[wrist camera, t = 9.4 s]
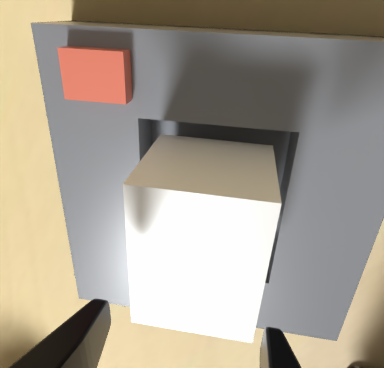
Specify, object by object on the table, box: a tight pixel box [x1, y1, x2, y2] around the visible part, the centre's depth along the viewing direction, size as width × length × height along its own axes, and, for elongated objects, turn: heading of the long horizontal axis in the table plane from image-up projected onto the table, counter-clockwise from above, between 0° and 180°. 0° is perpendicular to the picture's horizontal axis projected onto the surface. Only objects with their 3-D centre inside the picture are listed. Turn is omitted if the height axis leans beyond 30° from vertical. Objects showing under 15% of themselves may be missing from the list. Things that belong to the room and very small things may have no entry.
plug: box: [123, 134, 282, 343], centre depth 13 cm, size 6×5×6 cm
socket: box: [31, 21, 384, 341], centre depth 15 cm, size 14×14×4 cm
